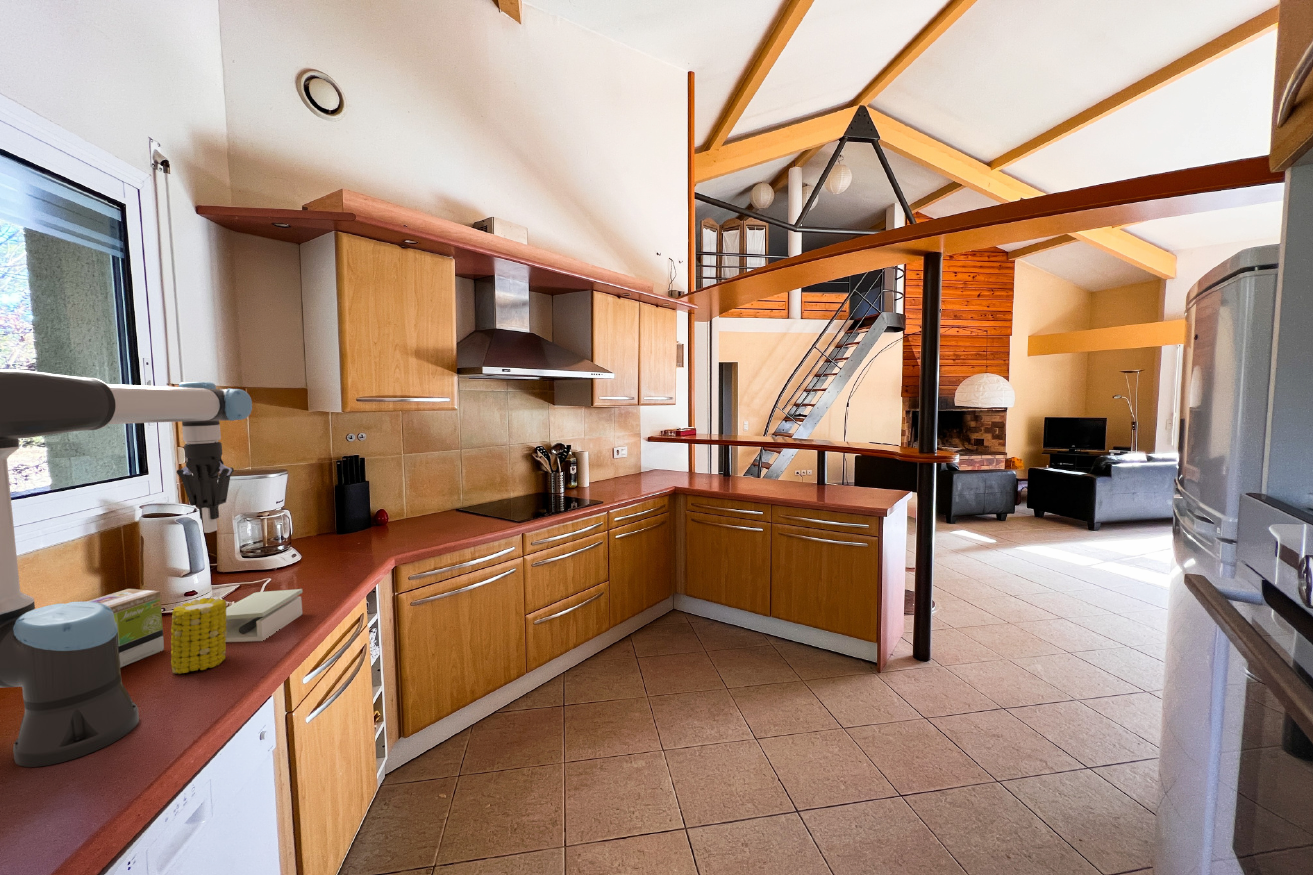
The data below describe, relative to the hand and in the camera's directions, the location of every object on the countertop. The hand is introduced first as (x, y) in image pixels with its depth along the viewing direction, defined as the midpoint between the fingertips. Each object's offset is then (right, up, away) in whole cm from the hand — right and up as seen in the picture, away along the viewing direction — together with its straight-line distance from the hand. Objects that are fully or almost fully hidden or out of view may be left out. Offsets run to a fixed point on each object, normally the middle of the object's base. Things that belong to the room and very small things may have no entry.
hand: (210, 531), depth 143 cm
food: (+15, -26, -21) cm, 37 cm away
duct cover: (+15, -19, -3) cm, 24 cm away
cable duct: (+15, -25, -2) cm, 29 cm away
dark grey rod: (+14, -23, -2) cm, 28 cm away
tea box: (-6, -27, -20) cm, 34 cm away
